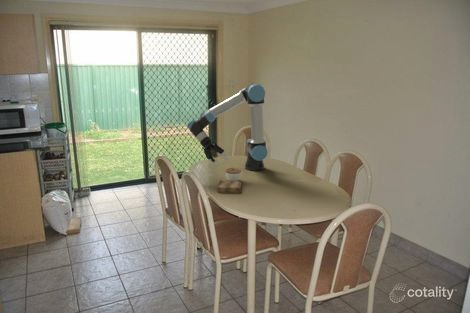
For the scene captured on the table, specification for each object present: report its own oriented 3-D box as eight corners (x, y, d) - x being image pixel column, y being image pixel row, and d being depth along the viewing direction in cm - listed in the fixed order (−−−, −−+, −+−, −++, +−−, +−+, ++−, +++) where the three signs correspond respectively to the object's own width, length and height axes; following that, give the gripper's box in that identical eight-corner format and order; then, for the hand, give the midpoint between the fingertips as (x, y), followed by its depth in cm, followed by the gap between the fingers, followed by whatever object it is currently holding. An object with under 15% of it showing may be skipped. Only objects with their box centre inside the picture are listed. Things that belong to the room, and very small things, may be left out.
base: (241, 185, 233) (241, 181, 232) (240, 192, 219) (240, 188, 219) (220, 185, 234) (220, 180, 233) (217, 192, 220) (217, 187, 220)
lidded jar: (243, 179, 246) (243, 166, 244) (238, 184, 236) (238, 170, 234) (228, 177, 250) (228, 165, 247) (223, 182, 240) (223, 169, 238)
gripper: (209, 139, 259) (227, 161, 256) (190, 146, 237) (209, 170, 234) (216, 133, 255) (234, 155, 252) (197, 139, 233) (216, 163, 230)
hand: (222, 162), depth 243 cm, fingers open, 13 cm apart
